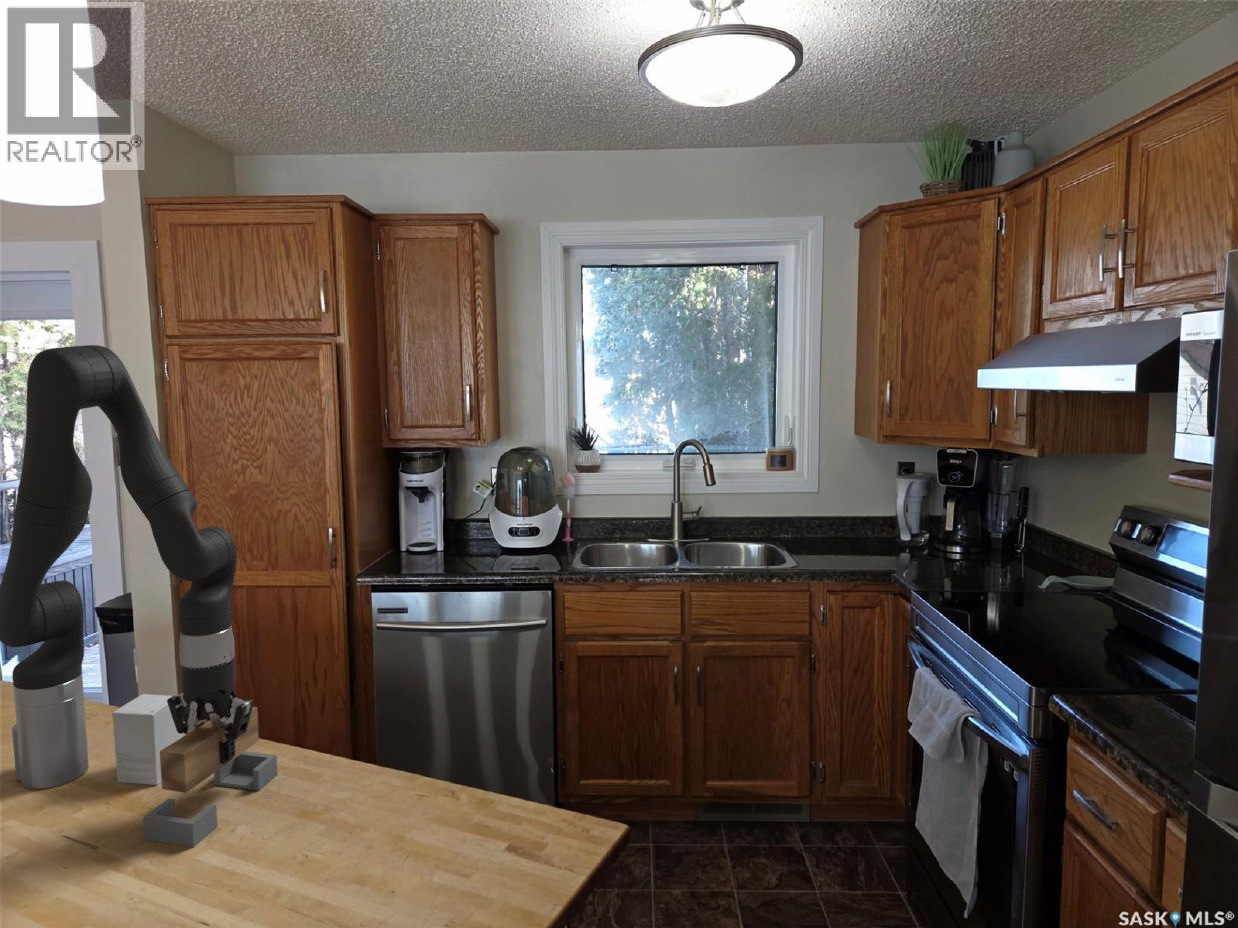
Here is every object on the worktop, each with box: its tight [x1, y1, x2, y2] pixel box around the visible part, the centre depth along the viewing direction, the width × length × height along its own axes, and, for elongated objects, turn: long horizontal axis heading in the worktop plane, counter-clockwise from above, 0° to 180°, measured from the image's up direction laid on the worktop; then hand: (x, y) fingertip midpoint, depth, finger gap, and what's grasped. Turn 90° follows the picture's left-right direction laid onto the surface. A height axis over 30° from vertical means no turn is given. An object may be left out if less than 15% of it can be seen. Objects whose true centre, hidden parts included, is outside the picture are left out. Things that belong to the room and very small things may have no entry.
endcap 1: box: [143, 798, 218, 848], centre depth 113 cm, size 8×5×4 cm, turn 80°
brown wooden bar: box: [160, 706, 260, 794], centre depth 119 cm, size 4×16×6 cm, turn 168°
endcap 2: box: [213, 750, 278, 792], centre depth 128 cm, size 8×5×4 cm, turn 80°
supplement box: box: [111, 693, 184, 786], centre depth 129 cm, size 7×7×13 cm
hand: (213, 759), depth 119 cm, fingers closed on brown wooden bar, 4 cm apart
